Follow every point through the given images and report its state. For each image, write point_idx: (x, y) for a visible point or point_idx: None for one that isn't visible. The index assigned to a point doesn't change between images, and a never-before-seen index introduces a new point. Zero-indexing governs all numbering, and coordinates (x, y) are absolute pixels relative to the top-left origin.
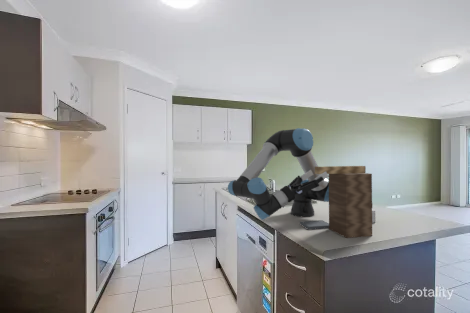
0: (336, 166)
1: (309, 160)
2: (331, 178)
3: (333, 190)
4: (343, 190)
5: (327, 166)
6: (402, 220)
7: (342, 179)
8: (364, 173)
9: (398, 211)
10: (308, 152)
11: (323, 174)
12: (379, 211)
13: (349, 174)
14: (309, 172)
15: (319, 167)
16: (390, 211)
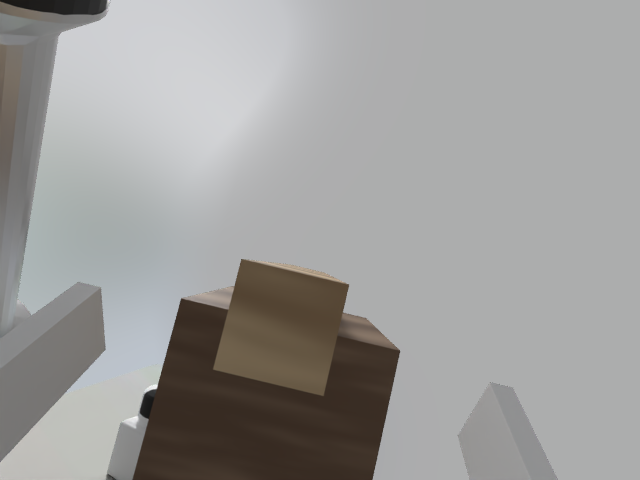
0: (319, 273)
1: (8, 131)
2: (208, 355)
3: (208, 461)
4: (341, 472)
5: (289, 267)
6: None
7: (349, 383)
8: (343, 315)
9: (157, 367)
10: (81, 13)
11: (532, 449)
12: (118, 381)
13: (392, 345)
14: (68, 331)
15: (344, 292)
16: (142, 373)
